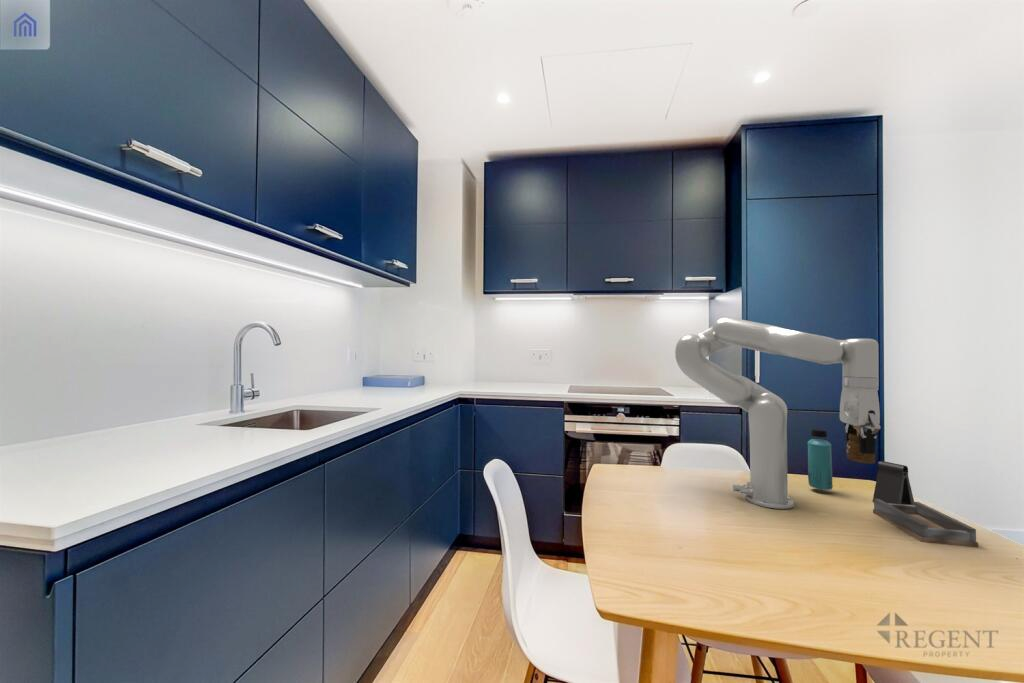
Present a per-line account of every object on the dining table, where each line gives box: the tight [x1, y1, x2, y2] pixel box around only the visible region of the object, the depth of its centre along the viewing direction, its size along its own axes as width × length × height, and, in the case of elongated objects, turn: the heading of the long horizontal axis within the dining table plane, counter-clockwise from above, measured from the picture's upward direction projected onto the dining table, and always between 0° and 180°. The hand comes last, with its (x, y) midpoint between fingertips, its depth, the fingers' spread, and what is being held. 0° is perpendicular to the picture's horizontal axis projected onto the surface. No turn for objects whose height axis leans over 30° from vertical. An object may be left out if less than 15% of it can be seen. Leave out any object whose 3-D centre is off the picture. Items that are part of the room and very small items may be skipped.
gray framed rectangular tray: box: [872, 499, 979, 548], centre depth 104 cm, size 11×18×4 cm, turn 166°
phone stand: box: [872, 460, 915, 505], centre depth 121 cm, size 9×6×12 cm, turn 111°
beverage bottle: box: [807, 428, 834, 491], centre depth 132 cm, size 6×7×20 cm
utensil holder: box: [846, 425, 876, 465], centre depth 110 cm, size 6×6×12 cm
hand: (860, 449), depth 110 cm, fingers closed on utensil holder, 5 cm apart
